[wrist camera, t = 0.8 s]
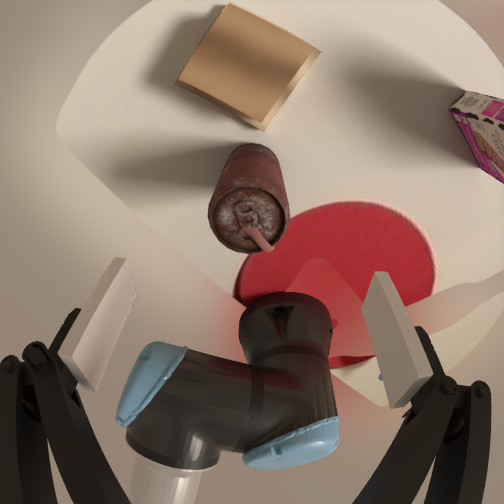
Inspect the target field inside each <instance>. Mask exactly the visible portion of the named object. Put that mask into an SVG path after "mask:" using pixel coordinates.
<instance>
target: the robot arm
mask: <svg viewBox="0 0 504 504" xmlns="http://www.w3.org/2000/svg"><path fill="white" fill-rule="evenodd" d="M136 297H137V295H136V292H135V288H134V284H133V281H132V277H131V273H130V269H129V265H128V260H127V258H118V257H115V258H114V259H113V261H112V262H111V264H110V265H109V267H108V268H107V270H106V271H105V273H104V274H103V276H102V277H101V279H100V280H99V282H98V284H97V285H96V287H95V289H94V290H93V292H92V293H91V295H90V296H89V298H88V300H87V301H86V303H85V305H84V306H83V308H82V309H79V308H75V309H74V310H73V311H72V312H71V313H70V314H69V315H68V316H67V318H66V319H65V321H64V324H63V325H62V326H61V328H60V330H59V332H58V333H57V335H56V337H55V338H54V340H53V342H52V344H51V346H50V348H49V349H47V348H46V346H45V345H44V344H43V343H42V342H39V341H36V342H32V343H30V344H29V345H27V346H26V348H25V349H24V351H23V353H22V358H23V360H24V361H25V362H20V361H19V359H18V358H17V357H16V356H14V355H9V356H7V357H5V358H4V359H3V360H2V361H1V363H0V504H58V503H57V498H56V494H55V489H54V484H53V479H52V473H51V466H50V460H49V452H48V444H47V438H48V442H49V445H50V448H51V450H52V453H53V456H54V459H55V462H56V464H57V467H58V469H59V472H60V474H61V477H62V479H63V482H64V484H65V486H66V488H67V491H68V493H69V495H70V497H71V499H72V501H73V503H74V504H194V501H195V497H196V493H197V489H198V486H199V482H200V478H201V474H202V472H205V471H207V470H210V469H212V468H214V467H215V466H216V464H217V462H218V459H219V456H220V452H221V451H229V452H238V453H243V454H244V455H243V457H242V459H243V460H244V463H245V465H246V466H248V467H250V468H255V469H279V468H287V467H293V466H298V465H302V464H306V463H309V462H313V461H316V460H318V459H321V458H323V457H325V456H327V455H328V454H330V453H332V452H333V451H334V450H335V449H336V447H337V446H338V443H339V417H338V414H337V409H336V402H335V396H334V391H333V385H332V380H331V374H330V369H329V363H328V355H329V350H330V344H331V338H332V334H333V324H332V320H331V316H330V313H329V310H328V309H327V307H326V306H325V305H324V304H323V303H322V302H321V301H319V300H318V299H316V298H314V297H312V296H309V295H306V294H302V293H296V292H282V293H276V294H271V295H268V296H265V297H263V298H260V299H258V300H257V301H255V302H253V303H252V304H251V305H250V306H248V307H247V308H246V310H245V311H244V312H243V314H242V316H241V318H240V322H239V340H240V343H241V345H242V347H243V351H244V354H245V357H246V360H247V363H248V364H245V363H241V362H237V361H232V360H228V359H225V358H221V357H217V356H213V355H209V354H205V353H202V352H198V351H194V350H191V349H188V347H186V346H184V347H179V346H175V345H171V344H167V343H164V342H152V343H150V344H148V345H147V346H145V348H144V349H143V350H142V351H141V353H140V355H139V356H138V358H137V360H136V362H135V364H134V366H133V368H132V370H131V373H130V375H129V377H128V380H127V382H126V384H125V387H124V389H123V392H122V395H121V398H120V401H119V403H118V407H117V413H116V417H115V420H116V422H117V423H118V424H120V425H121V426H122V427H127V432H126V439H125V440H126V443H127V445H128V447H129V448H130V449H131V450H132V451H133V452H134V454H135V457H134V462H133V468H132V475H131V480H130V487H129V494H128V497H127V496H126V494H125V492H124V491H123V489H122V487H121V486H120V484H119V482H118V480H117V478H116V477H115V475H114V473H113V471H112V469H111V467H110V465H109V464H108V462H107V460H106V458H105V456H104V454H103V452H102V450H101V447H100V445H99V443H98V441H97V439H96V436H95V434H94V432H93V429H92V427H91V425H90V423H89V420H88V417H87V415H86V413H85V410H84V407H83V405H82V402H81V399H80V396H79V393H78V391H77V389H76V386H77V383H79V384H80V385H81V387H82V388H83V389H85V390H89V391H92V392H97V390H98V387H99V384H100V382H101V379H102V376H103V374H104V371H105V369H106V366H107V364H108V361H109V359H110V356H111V354H112V352H113V349H114V347H115V344H116V342H117V339H118V337H119V335H120V333H121V330H122V328H123V326H124V324H125V321H126V319H127V317H128V315H129V312H130V310H131V308H132V306H133V304H134V302H135V300H136ZM361 310H362V313H363V316H364V319H365V322H366V325H367V328H368V331H369V334H370V338H371V341H372V344H373V347H374V351H375V354H376V357H377V361H378V364H379V368H380V371H381V375H382V378H383V382H384V386H385V390H386V393H387V397H388V401H389V405H390V409H394V408H400V407H404V406H405V405H406V404H407V403H408V402H409V401H411V404H412V407H411V408H410V409H409V410H408V411H407V412H406V413H405V414H404V415H403V416H402V417H403V418H404V417H405V416H406V418H405V420H404V421H403V423H402V425H401V427H400V429H399V431H398V433H397V435H396V437H395V439H394V440H393V442H392V444H391V446H390V448H389V449H388V451H387V453H386V454H385V456H384V457H383V459H382V461H381V462H380V464H379V466H378V467H377V469H376V470H375V472H374V473H373V475H372V477H371V478H370V479H369V481H368V482H367V484H366V485H365V487H364V488H363V490H362V491H361V492H360V494H359V495H358V496H357V498H356V499H355V500H354V502H353V503H352V504H411V503H412V502H413V500H414V498H415V496H416V495H417V493H418V491H419V489H420V487H421V485H422V483H423V482H424V480H425V477H426V476H427V474H428V471H429V469H430V467H431V465H432V463H433V461H434V459H435V462H434V467H433V471H432V476H431V480H430V483H429V487H428V491H427V494H426V498H425V501H424V504H481V503H482V498H483V493H484V488H485V482H486V476H487V469H488V460H489V451H490V437H491V392H490V388H489V386H488V385H487V384H486V383H485V382H483V381H479V380H478V381H475V382H474V383H473V384H472V385H471V386H463V385H457V383H456V381H455V380H454V379H453V378H451V377H449V376H446V375H445V373H444V371H443V368H442V366H441V363H440V361H439V359H438V356H437V354H436V352H435V351H434V347H433V345H432V344H431V340H430V338H429V336H428V334H427V333H426V332H425V330H424V329H423V328H422V327H421V326H416V327H414V326H413V324H412V321H411V319H410V317H409V315H408V313H407V311H406V309H405V306H404V304H403V302H402V300H401V298H400V296H399V294H398V292H397V290H396V288H395V286H394V284H393V282H392V280H391V278H390V276H389V275H388V273H387V272H375V273H374V275H373V278H372V281H371V284H370V287H369V289H368V292H367V295H366V297H365V300H364V303H363V305H362V308H361ZM435 456H436V458H435Z"/></svg>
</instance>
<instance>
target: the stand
mask: <svg viewBox="0 0 504 504" xmlns="http://www.w3.org/2000/svg"><path fill="white" fill-rule="evenodd" d="M320 53H321V51H319V50H318V49H316V48H315V47H313V46H312V45H310V44H308V43H307V42H305V41H304V40H302V39H301V38H299V37H297V36H296V35H294V34H292V33H291V32H289V31H287V30H285V29H284V28H282V27H280V26H278V25H276V24H275V23H273V22H271V21H269V20H267V19H265V18H263V17H261V16H259V15H257V14H255V13H253V12H251V11H249V10H247V9H245V8H243V7H241V6H239V5H236V4H234V3H232V2H229V3H228V4H227V5H226V7H225V8H224V9H223V11H222V12H221V13H220V15H219V16H218V17H217V19H216V20H215V22H214V23H213V24H212V26H211V27H210V29H209V30H208V32H207V33H206V35H205V36H204V37H203V39H202V40H201V42H200V44H199V45H198V47H197V48H196V50H195V51H194V53H193V54H192V56H191V58H190V59H189V61H188V62H187V64H186V66H185V67H184V69H183V71H182V72H181V74H180V76H179V78H178V79H177V81H176V83H175V84H176V85H178V86H180V87H183V88H185V89H187V90H189V91H191V92H193V93H195V94H197V95H199V96H201V97H203V98H204V99H206V100H208V101H210V102H212V103H214V104H216V105H218V106H220V107H221V108H223V109H225V110H227V111H229V112H230V113H232V114H234V115H236V116H238V117H239V118H241V119H243V120H245V121H246V122H248V123H250V124H251V125H253V126H255V127H257V128H258V129H260V130H261V131H263V132H264V131H265V130H266V128H267V127H268V125H269V124H270V123H271V121H272V120H273V118H274V117H275V115H276V114H277V112H278V111H279V109H280V108H281V107H282V105H283V104H284V102H285V101H286V99H287V98H288V97H289V95H290V94H291V92H292V91H293V90H294V88H295V87H296V85H297V84H298V83H299V81H300V80H301V79H302V77H303V76H304V74H305V73H306V72H307V70H308V69H309V68H310V66H311V65H312V64H313V62H314V61H315V60H316V58H317V57H318V56H319V54H320Z"/></svg>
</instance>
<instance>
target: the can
mask: <svg viewBox="0 0 504 504" xmlns="http://www.w3.org/2000/svg"><path fill="white" fill-rule="evenodd" d="M208 220H209V224H210V228H211V229H212V231H213V233H214V234H215V236H216V237H217V239H218V240H219V241H220V242H221V243H222V244H223V245H224V246H226V247H227V248H229V249H231V250H233V251H236V252H239V253H246V254H252V253H260V252H262V251H265V252H271V251H272V250H274V248H275V246H274V245H275V244H276V243H277V242H278V241H279V240H280V239H281V238H282V236H283V234H284V233H285V231H286V230H287V228H288V224H289V220H290V211H289V204H288V199H287V195H286V190H285V186H284V181H283V177H282V173H281V169H280V164H279V161H278V159H277V157H276V155H275V154H274V153H273V152H272V151H271V150H270V149H269V148H267V147H265V146H263V145H261V144H254V143H251V144H244V145H242V146H240V147H238V148H236V149H235V150H234V151H233V152H232V153H231V154H230V156H229V158H228V160H227V162H226V165H225V167H224V169H223V172H222V174H221V176H220V179H219V181H218V183H217V186H216V188H215V191H214V193H213V195H212V198H211V200H210V203H209V207H208Z"/></svg>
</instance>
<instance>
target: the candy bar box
mask: <svg viewBox="0 0 504 504" xmlns="http://www.w3.org/2000/svg"><path fill="white" fill-rule="evenodd" d="M449 110H450V112H451V114H452V115H453V117H454V119H455V120H456V122H457V124H458V125H459V127H460V129H461V131H462V132H463V134H464V136H465V138H466V140H467V142H468V144H469V146H470V147H471V149H472V151H473V153H474V155H475V157H476V160H477V162H478V164H479V166H480V168H481V170H483V171H485V172H486V173H488V174H489V175H491V176H493V177H494V178H496V179H497V180H499V181H500V182H502V183H503V184H504V100H503V99H500V98H496V97H492V96H488V95H484V94H479V93H475V92H470V91H466V92H465V93H464V94H463V95H462V96H461V97H460V98H459V99H458V100H457V101H456V102H455V103H454V104H453V105H452V106H451V107H450V108H449Z"/></svg>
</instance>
